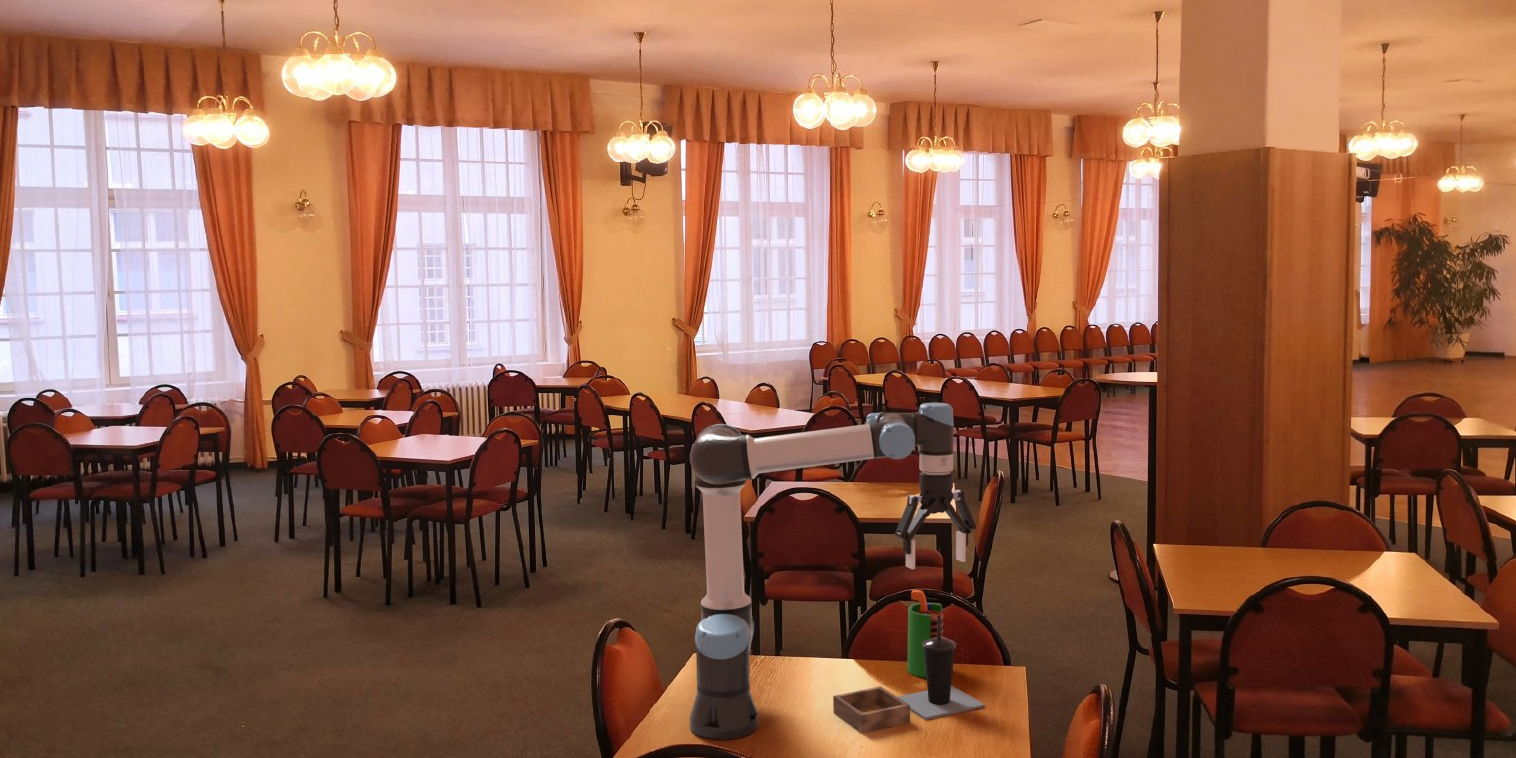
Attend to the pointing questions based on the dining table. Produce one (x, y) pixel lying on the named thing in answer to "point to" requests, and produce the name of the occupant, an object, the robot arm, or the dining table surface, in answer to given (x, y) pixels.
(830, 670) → the dining table surface
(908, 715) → the walnut collar
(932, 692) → the drinking cup
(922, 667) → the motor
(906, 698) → the slate mat
